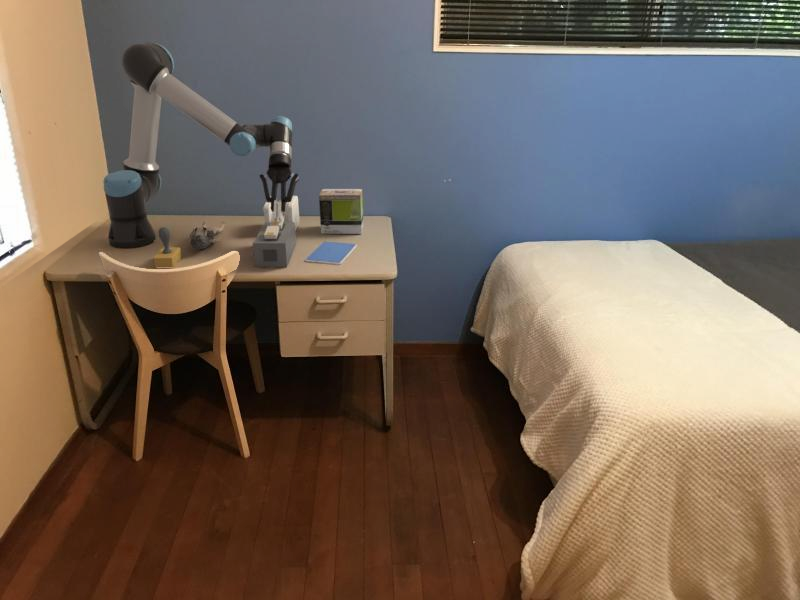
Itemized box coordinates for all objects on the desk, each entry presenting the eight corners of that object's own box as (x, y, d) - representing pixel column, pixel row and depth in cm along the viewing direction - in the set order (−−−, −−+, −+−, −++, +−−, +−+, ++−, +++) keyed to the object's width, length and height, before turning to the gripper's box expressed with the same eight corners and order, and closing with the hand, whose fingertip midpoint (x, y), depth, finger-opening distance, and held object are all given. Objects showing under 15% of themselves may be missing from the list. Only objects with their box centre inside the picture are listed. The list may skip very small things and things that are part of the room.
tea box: (363, 226, 232) (363, 188, 226) (361, 235, 223) (360, 195, 217) (323, 226, 232) (322, 187, 226) (320, 234, 223) (318, 194, 217)
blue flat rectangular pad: (340, 266, 195) (340, 263, 194) (303, 263, 198) (303, 259, 197) (358, 247, 212) (358, 243, 212) (323, 244, 215) (323, 240, 214)
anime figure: (226, 216, 226) (210, 231, 198) (228, 236, 228) (212, 253, 200) (199, 217, 225) (179, 232, 197) (201, 237, 227) (182, 254, 199)
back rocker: (270, 229, 201) (269, 224, 200) (273, 219, 206) (272, 215, 205) (281, 229, 201) (281, 224, 200) (284, 219, 206) (283, 215, 205)
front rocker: (264, 239, 191) (264, 234, 191) (268, 230, 197) (267, 225, 196) (276, 239, 192) (275, 234, 191) (279, 230, 197) (278, 225, 196)
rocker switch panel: (254, 268, 192) (252, 243, 188) (267, 244, 212) (265, 221, 209) (286, 268, 192) (285, 243, 189) (296, 244, 212) (294, 221, 209)
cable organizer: (293, 237, 220) (291, 205, 215) (264, 236, 220) (261, 205, 215) (300, 224, 234) (298, 194, 229) (272, 224, 234) (269, 194, 229)
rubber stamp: (174, 268, 191) (168, 232, 186) (154, 269, 190) (148, 232, 185) (182, 257, 200) (177, 222, 195) (164, 257, 199) (158, 222, 194)
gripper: (301, 164, 213) (300, 224, 204) (262, 165, 212) (258, 225, 204) (298, 151, 206) (297, 213, 197) (257, 152, 205) (254, 214, 197)
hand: (277, 219), depth 201 cm, fingers closed, pressing on back rocker
